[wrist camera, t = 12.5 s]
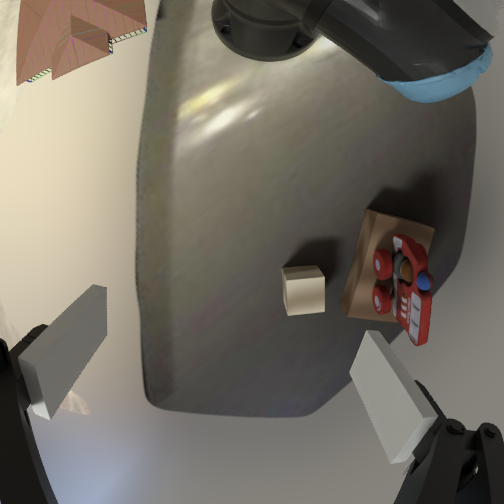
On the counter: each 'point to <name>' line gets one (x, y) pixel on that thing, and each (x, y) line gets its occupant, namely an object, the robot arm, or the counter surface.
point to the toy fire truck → (405, 286)
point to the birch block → (303, 289)
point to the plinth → (362, 270)
